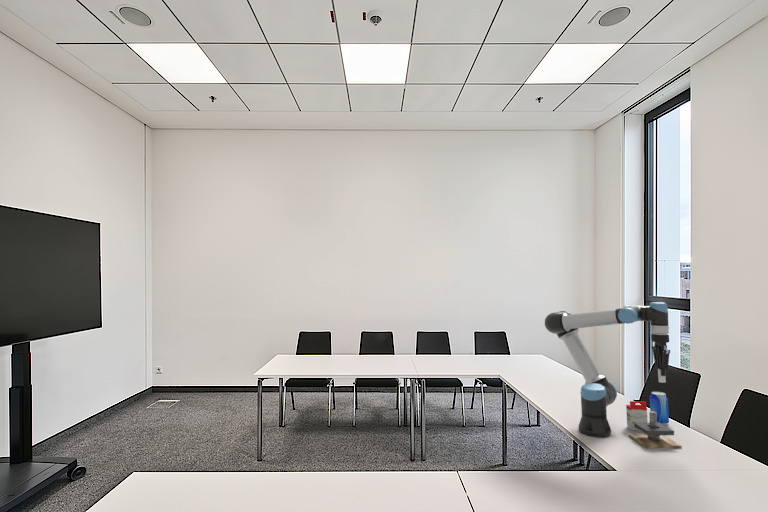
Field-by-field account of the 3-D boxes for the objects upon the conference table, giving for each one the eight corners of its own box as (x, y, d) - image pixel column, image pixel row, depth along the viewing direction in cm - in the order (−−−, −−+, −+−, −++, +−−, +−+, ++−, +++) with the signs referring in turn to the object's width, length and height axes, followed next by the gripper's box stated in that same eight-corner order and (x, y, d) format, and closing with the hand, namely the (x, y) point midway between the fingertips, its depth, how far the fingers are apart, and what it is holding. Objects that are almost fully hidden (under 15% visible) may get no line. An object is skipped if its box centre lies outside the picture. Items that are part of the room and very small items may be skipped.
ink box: (643, 427, 238) (642, 398, 238) (648, 430, 233) (647, 401, 233) (626, 427, 238) (625, 398, 239) (630, 430, 234) (629, 401, 234)
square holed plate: (647, 435, 211) (647, 431, 211) (634, 426, 223) (634, 422, 223) (674, 435, 211) (673, 430, 211) (659, 426, 223) (659, 422, 223)
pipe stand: (646, 448, 209) (644, 417, 210) (628, 436, 225) (627, 407, 226) (681, 448, 208) (680, 417, 209) (661, 435, 224) (660, 407, 225)
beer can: (672, 425, 239) (671, 395, 240) (656, 426, 239) (655, 395, 240) (663, 420, 247) (661, 391, 248) (647, 421, 247) (646, 391, 248)
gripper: (675, 335, 217) (677, 385, 216) (660, 332, 230) (663, 379, 229) (658, 335, 218) (661, 385, 217) (645, 332, 231) (647, 379, 230)
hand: (662, 382), depth 223 cm, fingers closed
